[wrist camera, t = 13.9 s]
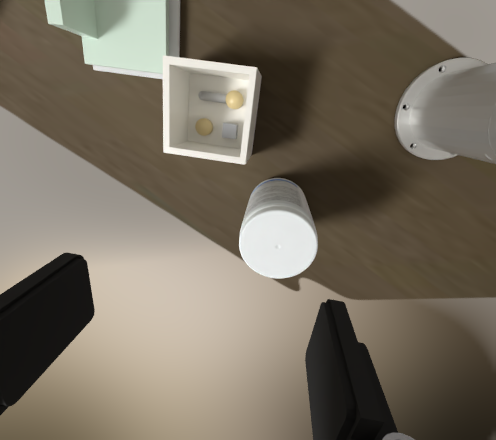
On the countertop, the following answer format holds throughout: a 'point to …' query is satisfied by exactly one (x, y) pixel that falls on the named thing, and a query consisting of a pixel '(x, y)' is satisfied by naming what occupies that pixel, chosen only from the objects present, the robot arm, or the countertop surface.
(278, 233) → the supplement tub
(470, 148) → the robot arm
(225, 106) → the parts tub
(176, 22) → the mat
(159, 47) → the lid
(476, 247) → the countertop surface
